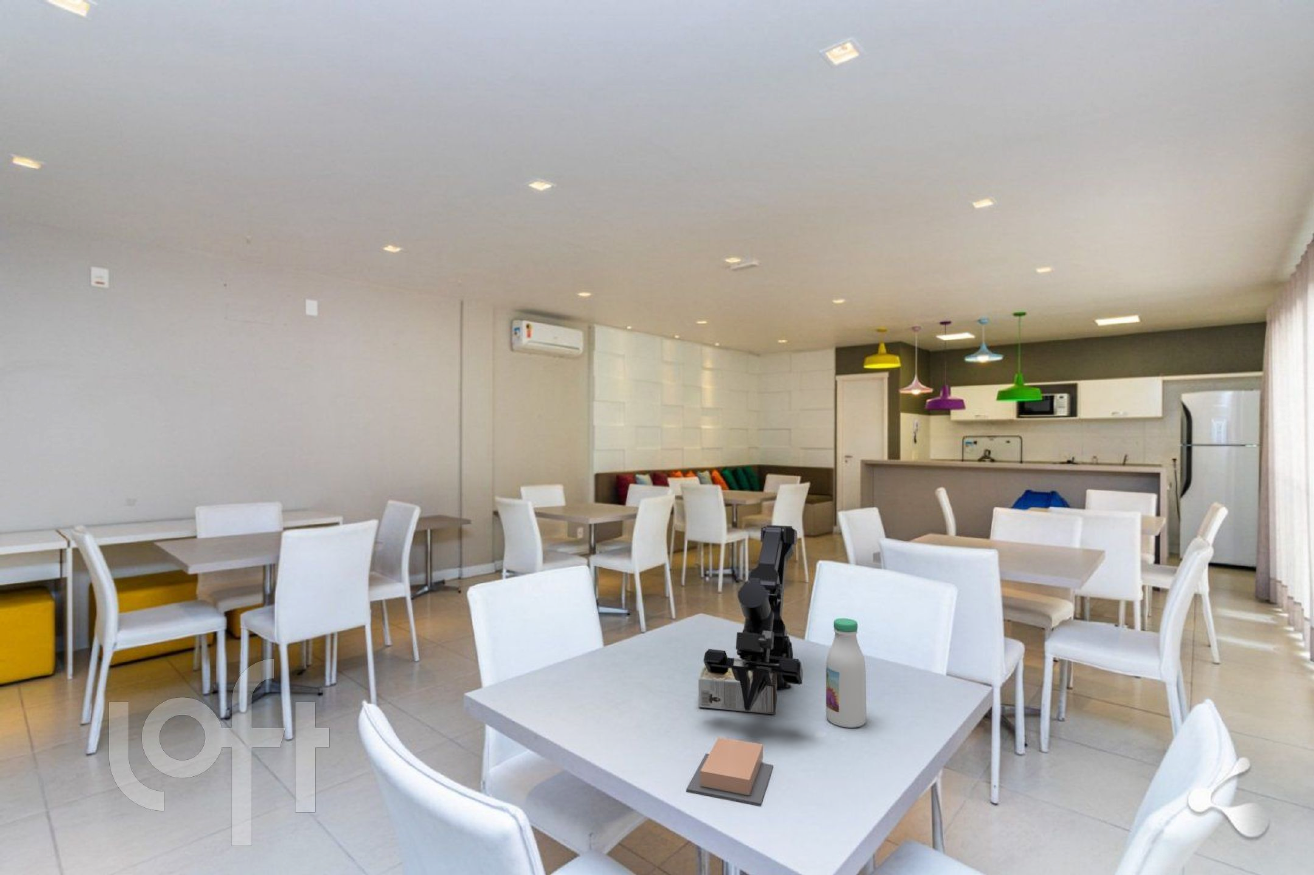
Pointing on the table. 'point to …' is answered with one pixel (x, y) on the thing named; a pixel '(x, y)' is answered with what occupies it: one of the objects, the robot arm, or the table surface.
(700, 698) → the coffee box
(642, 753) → the table surface
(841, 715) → the milk bottle
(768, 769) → the mat
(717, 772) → the block
